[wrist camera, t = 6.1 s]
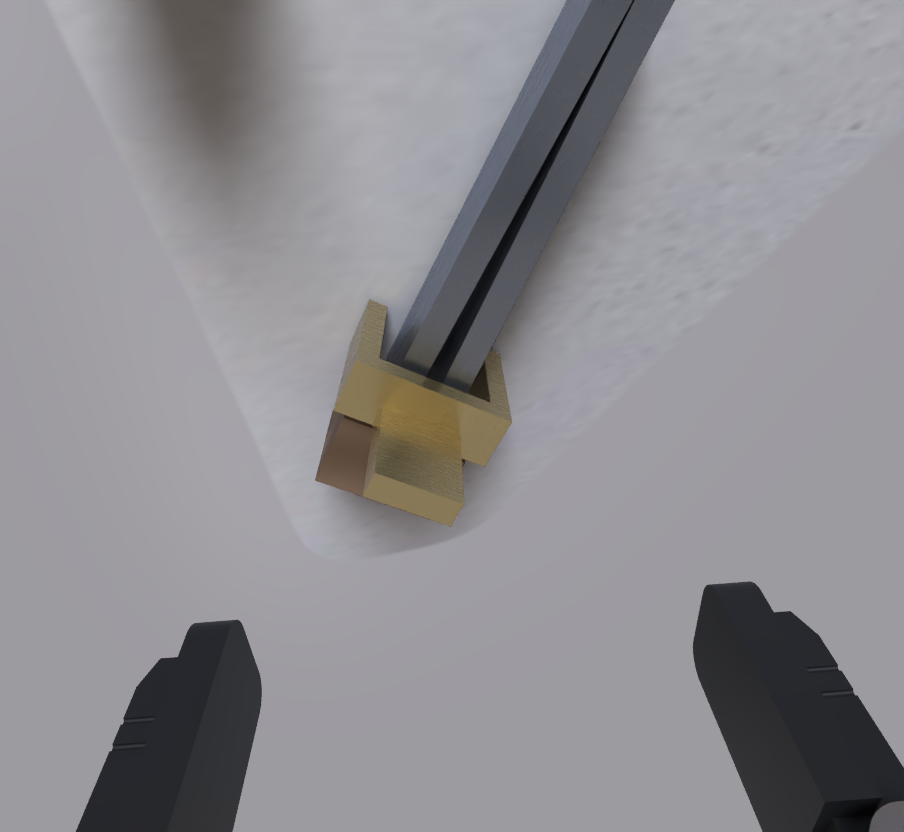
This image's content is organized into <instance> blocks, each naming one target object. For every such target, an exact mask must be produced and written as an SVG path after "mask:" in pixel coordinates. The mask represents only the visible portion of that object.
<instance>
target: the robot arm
mask: <svg viewBox="0 0 904 832" xmlns="http://www.w3.org/2000/svg"><path fill="white" fill-rule="evenodd" d="M693 655H694V662H695V667H696V671H697V674H698V678H699V680H700V682H701V685H702V687H703V690H704V692H705V695H706V697H707V699H708V702H709V704H710V707H711V709H712V711H713V714H714V716H715V719H716V721H717V723H718V726H719V728H720V730H721V733H722V735H723V737H724V740H725V742H726V745H727V747H728V750H729V752H730V754H731V757H732V759H733V761H734V764H735V766H736V769H737V771H738V773H739V776H740V778H741V781H742V783H743V786H744V788H745V790H746V793H747V795H748V797H749V800H750V802H751V805H752V807H753V809H754V812H755V814H756V817H757V819H758V821H759V824H760V826H761V829H762V831H763V832H904V768H903V766H902V765H901V763H900V762H899V760H898V759H897V757H896V755H895V754H894V752H893V750H892V749H891V747H890V746H889V745H888V743H887V741H886V740H885V738H884V736H883V735H882V733H881V732H880V730H879V729H878V727H877V726H876V724H875V722H874V721H873V720H872V718H871V716H870V715H869V713H868V711H867V710H866V708H865V707H864V705H863V704H862V702H861V700H860V699H859V697H858V696H855V695H854V693H853V688H852V686H851V685H850V683H849V682H848V680H847V679H846V677H845V675H844V674H843V672H842V671H839V670H838V665H837V663H836V661H835V660H834V658H833V657H832V655H831V654H830V652H829V650H828V649H827V647H826V646H825V644H824V643H823V641H822V639H821V638H820V636H819V635H818V634H817V633H815V632H814V631H813V630H812V629H810V627H808V626H807V625H806V624H805V623H804V622H802V621H801V620H800V619H799V618H798V617H797V616H795V615H794V614H793V613H792V612H791V611H787V612H775V613H774V612H773V610H772V609H771V607H770V605H769V604H768V602H767V600H766V599H765V597H764V595H763V593H762V592H761V590H760V589H759V587H758V586H757V585H756V584H755V583H753V582H738V583H727V584H712V585H707V586H706V587H705V589H704V591H703V596H702V601H701V606H700V611H699V616H698V621H697V626H696V631H695V637H694V642H693ZM261 689H262V688H261V678H260V674H259V671H258V668H257V665H256V663H255V659H254V656H253V654H252V651H251V648H250V645H249V642H248V639H247V636H246V634H245V631H244V628H243V625H242V623H241V622H240V621H239V620H230V621H217V622H204V623H194V624H193V625H192V626H191V627H190V628H189V630H188V632H187V634H186V637H185V639H184V642H183V645H182V647H181V650H180V653H179V655H178V657H174V658H161V659H160V660H159V661H158V663H156V665H155V666H154V667H153V668H152V669H151V670H150V672H149V673H148V674H147V675H146V676H145V678H144V679H143V680H142V681H141V682H140V684H139V685H138V686H137V687H136V690H135V692H134V695H133V697H132V699H131V702H130V704H129V706H128V709H127V711H126V714H125V716H124V718H123V719H124V723H123V725H121V726H120V728H119V730H118V733H117V735H116V737H115V740H114V742H113V749H112V751H110V752H109V754H108V756H107V759H106V761H105V763H104V766H103V768H102V771H101V773H100V775H99V778H98V780H97V783H96V785H95V787H94V790H93V792H92V795H91V797H90V799H89V802H88V804H87V806H86V809H85V811H84V813H83V816H82V818H81V821H80V823H79V825H78V828H77V830H76V832H232V831H233V827H234V822H235V818H236V814H237V809H238V805H239V801H240V796H241V792H242V788H243V783H244V778H245V775H246V770H247V766H248V761H249V757H250V752H251V748H252V743H253V740H254V735H255V731H256V726H257V722H258V718H259V713H260V707H261V697H262V690H261Z"/></svg>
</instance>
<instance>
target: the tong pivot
mask: <svg viewBox="0 0 904 832" xmlns="http://www.w3.org/2000/svg"><path fill="white" fill-rule="evenodd" d="M372 429H373V425H371V424H368V423H365V422H363V421H360V420H357V419H355V418H352V417H349V416H347V415H344V414H341V413H338V412H336V411H334V410H333V412H332V416H331V420H330V424H329V427H328V431H327V435H326V439H325V443H324V447H323V451H322V455H321V459H320V463H319V467H318V471H317V475H316V479H315V481H318V482H321V483H324V484H327V485H330V486H333V487H336V488H339V489H342V490H345V491H348V492H351V493H353V494H356V495H359V496H362V497H363V490H364V483H365V476H366V470H367V463H368V456H369V449H370V443H371V436H372ZM464 464H465V459H462V467H463V465H464ZM365 498H366V497H365ZM368 499H369V498H368ZM371 500H372V499H371ZM374 501H375V500H374ZM377 502H378V501H377ZM397 509H398V508H397ZM400 510H401V509H400ZM403 511H404V510H403ZM406 512H407V511H406ZM409 513H410V512H409ZM412 514H413V513H412ZM415 515H416V514H415ZM418 516H419V515H418Z"/></svg>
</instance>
